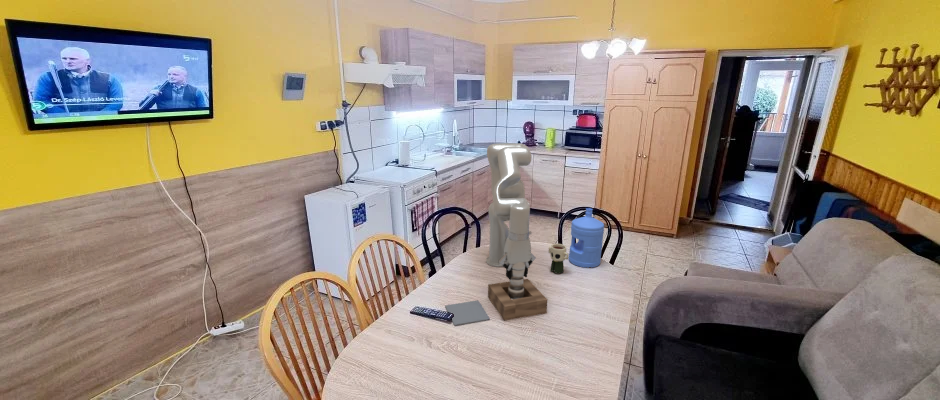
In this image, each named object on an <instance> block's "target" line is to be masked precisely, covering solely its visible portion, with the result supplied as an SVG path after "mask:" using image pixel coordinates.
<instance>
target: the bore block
mask: <svg viewBox="0 0 940 400" xmlns="http://www.w3.org/2000/svg"><path fill="white" fill-rule="evenodd" d="M509 283H510V280H508V281H504V282H496V283H489V284H487V299H489V301H490V303H492V305H493V307H494V308H495V310H496V311H497V313H498V314H499V315H500V317H501V318H502V319H503V321H504V322H505V321H510V320H516V319H521V318H522V319H523V318H526V317H533V316H537V315H543V314H547V312H548V298H547V297H546V296H545V295H544V294H543V293H542V292H541V291H540V290H539V289H538V288H537V287H536V286H535V285H534V284H533V282H532V281H531V280H530V279H529V278H524V279H523V285H524V296H523V298H518V299H511V298H510V297H509V296H508V288H509Z"/></svg>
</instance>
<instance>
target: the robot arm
mask: <svg viewBox="0 0 940 400" xmlns="http://www.w3.org/2000/svg"><path fill="white" fill-rule="evenodd" d="M486 155H487V161H488V163H489V166H490V171H491V174H490V175H491V180H490V181H491V182H490V183H491V195H492V202H491V203H490V204H489V206H488V209H487V211H488V217H489V246H488V247H489V251H488V252H489V253H488V254H489V256H487V257H486V259H485V262H486V264H487V265H489V266H492V267H494V268H504V269H505V276H506V278H507V279H508V281H510V280H511V273H512V271H511V270H510V269H511V267H512V265H513V264H516V263H518V262H525V265H526V266H525V272H524V278H527V277H528V274H529V268H530V266H531V265H532V264H533V262H534V261H535V260H536V258H537V257H536V256H535V255H534V254H533V253H532V246H531V239H530V235H532V234H533V233H532V230H530V216H531V215H530V214H531V213H530V212H531V207H530V202H529V200H528V199H527V198H525V197H526V191H525V189H526V188H525V183H524V182H523V180H522V179H521V178H522V174H521V169H520V167H524V166H525V167H528V166H530V164H531V162H532V153H531V149H530V147H528V146H527V145H525V144H524V143H517V142H516V143H515V142H514V143H512V142H511V143H505V142H504V143H492V144H489V145H488V147H487V149H486ZM507 221H508V222H509V226H508V225H507V224H506V222H507Z"/></svg>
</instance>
